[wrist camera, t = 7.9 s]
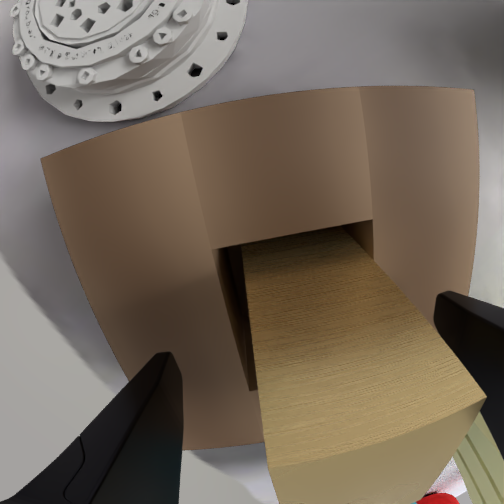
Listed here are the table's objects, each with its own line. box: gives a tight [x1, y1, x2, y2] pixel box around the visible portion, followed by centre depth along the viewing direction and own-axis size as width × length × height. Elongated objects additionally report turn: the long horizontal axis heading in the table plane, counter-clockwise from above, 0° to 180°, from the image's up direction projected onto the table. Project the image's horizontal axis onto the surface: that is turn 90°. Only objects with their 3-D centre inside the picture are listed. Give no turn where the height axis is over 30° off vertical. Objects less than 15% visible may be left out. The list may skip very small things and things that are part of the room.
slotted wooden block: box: [41, 86, 479, 450], centre depth 12 cm, size 12×12×6 cm
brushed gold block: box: [241, 225, 487, 504], centre depth 8 cm, size 3×4×10 cm
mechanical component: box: [10, 0, 248, 122], centre depth 8 cm, size 10×4×10 cm
